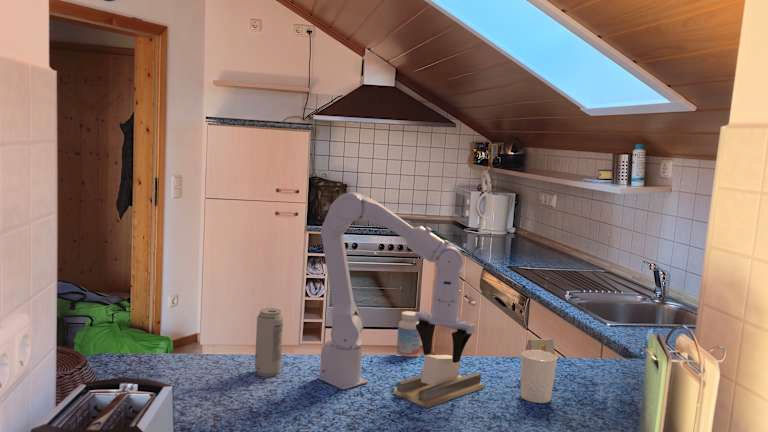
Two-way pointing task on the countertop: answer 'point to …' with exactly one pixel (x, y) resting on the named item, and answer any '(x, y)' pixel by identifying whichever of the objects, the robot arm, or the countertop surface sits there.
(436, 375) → the cream rectangular block
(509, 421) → the countertop surface
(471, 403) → the countertop surface
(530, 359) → the white cup
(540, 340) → the white red printed box
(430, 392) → the sliding track
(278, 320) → the energy drink can
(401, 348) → the pill bottle
